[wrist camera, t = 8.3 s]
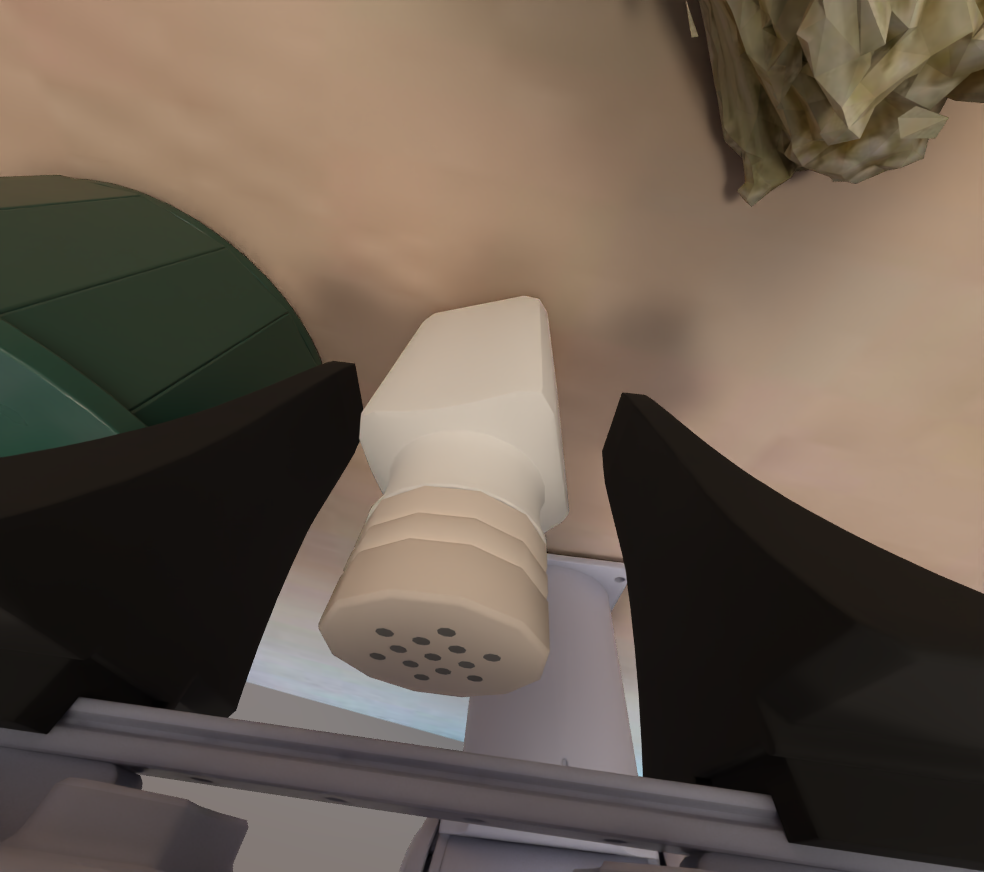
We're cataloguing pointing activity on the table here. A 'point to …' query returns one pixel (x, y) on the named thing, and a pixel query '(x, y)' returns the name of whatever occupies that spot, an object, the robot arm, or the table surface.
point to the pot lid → (50, 399)
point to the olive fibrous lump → (838, 81)
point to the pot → (141, 297)
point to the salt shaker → (458, 508)
